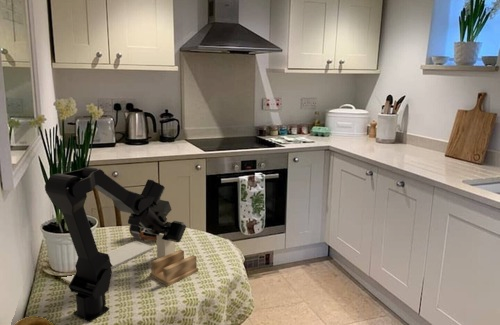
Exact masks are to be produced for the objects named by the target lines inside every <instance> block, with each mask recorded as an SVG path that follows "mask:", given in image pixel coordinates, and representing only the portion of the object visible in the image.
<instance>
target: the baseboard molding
mask: <svg viewBox="0 0 500 325" xmlns="http://www.w3.org/2000/svg"><path fill="white" fill-rule="evenodd" d="M135 239H136V238H134V240H132V241H131V242H128V243H126V244H123V245H122V246H119V247H117V248H114V249H112V250H110V251H108V252H104V253H105V254H108V255H109V258H110V263H111V264H112V265H113V266H112V267H111V269H112V270H113V269H114V268H117V267H119V266H121V265H123V264H126V263H127V262H129V261H132V260H133V259H136V258H138V257H140V256H143V255H145V254H147V253H149V252H151V251H152V250H154V246H153V244H151V243H150V245H149V244H148V243H145V242H146V240H142V239H141V240H140V241H139V240H137V239H136V240H135ZM151 245H152V246H151ZM73 277H74V275H72V276H67V277H61V279H63V280H64V282H65V281H66V282H65V283H67V284H69V285H70V283H71V281H72V279H73ZM61 279H60V280H61ZM63 280H62V281H63Z"/></svg>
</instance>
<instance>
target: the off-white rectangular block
mask: <svg viewBox="0 0 500 325" xmlns="http://www.w3.org/2000/svg"><path fill="white" fill-rule="evenodd" d="M163 235H164V234H161V233H160V234H159V236H158V235H157V240H156V260H157V259H159V258H161V257H164V256H166V255H169V254H171V253H173V252H176V242H173V241H170V240H169V241H168V240H163V239H162V237H163Z"/></svg>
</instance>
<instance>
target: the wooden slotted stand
mask: <svg viewBox="0 0 500 325" xmlns="http://www.w3.org/2000/svg"><path fill="white" fill-rule="evenodd" d="M197 272H199V268H198V267H197V256H196V255H194V254H191V255H190V256H187V257H185V251H184V250H183V249H181V248H180V249H178V250H175V252H173V253H171V254H169V255H166V256H164V257H161V258H159V259H157V258H156V259H154V260H152V261H150V273H149V276H150V277H151V278H153V279H155V280H156V281H158V282H161V283H162V284H164V285H166V286H167V287H169V286H171V285H173V284H176V283H178V282H180V281H182V280H184V279H186V278H188V277H189V276H192V275H194V274H196V273H197Z"/></svg>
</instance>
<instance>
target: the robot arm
mask: <svg viewBox="0 0 500 325" xmlns="http://www.w3.org/2000/svg"><path fill="white" fill-rule="evenodd" d="M94 189H95V190H97V191H98V192H100V193H101V194H103V195H104V196H106V197H107V198H109V199H111V200H112V201H113V205H114V207H116V208H117V210H118V211H119V212H121V213H127V214H130V215H128V220H127V224H128V225H129V228H130V229H129V232H130V231H132V232H133V233H137V234H140V233H141V232H140V229H141V228H142V229H141V231H142V232H144V233H143V235H145V236H149V237H157V235H158V236H159V234H160V233H161V234H164V235H163V237H162V239H163V240H168V241H169V240H170V241H173V242H175V243H180V242H181V241H182V238H183V236H184V235H185V234H184V233H185V231H186V228H187V225H186V224H185V223H184V222H183V221H178V220H173V221H172V222H171V221H168V218H167V216H168V215H169V213H170V212H172V207H171V206H172V205H171V204H170V201H169V200H163V199H161V198H162V196H163V193H164V191H165V186H164V185H163V184H161V183H158V182H156V181H155V180H153V179H147V180H146V183H145V185H144V188H143V189H142V192H141V193H137V192H134V191H131V190H128V189H126V188H125V187H124V186H122V185H121V184H120V183H119V182H117V181H116V180H114V178H111V177H110V176H109V175H107V173H105V171H104V170H103V169H101V168H98V167H91V166H86V167H82V168H80V169H77V170H73V171H67V172H63V173H54V174H52V175H50V177H48V179H47V181H46V183H45V184H44V191H45V193H46V194H47V196H48V199H49V200H50V201H51V203H52V204H53V205H54V206H56V208H57V209H58V210H59V211H60V212H61V214H62V216H63V219H64V222H65V224H66V227H67V230H68V233H69V236H70V238H71V241H72V244H73V247H74V249H75V252H76V256H77V260H76V263H75V266H74V267H75V268H76V273H75V275H74V277H73V279H72V281H71V283H70V284H69V285H68V288H69V290H70V292H71V293H76V294H75V301H76V310H75V311H73V315H74V316H76V317H78V318H80V319H81V320H84V321H86V322H92V321H94V320H95V319H97V318H98V317H100V316H101V315H103V314H105V313H106V312H108V311H110V307H108V306H106V304H107V303H106V293H108V292H109V290H110V284H111V279H112V273H113V271H112V270H113V269H111V267H112V266H113V265H112V264H111V263H110V258H109V255H108V254H105V253H106V252H100V251H99V250H98V247H97V244H96V243H97V242H96V240H95V238H94V235H93V231H92V227H91V225H90V222H89V220H88V216H87V213H86V210H85V203H86V201H87V200H86V199H87V194H89V193H90V192H92V191H93V190H94ZM166 221H167V222H166ZM164 222H166V223H164ZM130 224H131V225H130Z"/></svg>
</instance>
